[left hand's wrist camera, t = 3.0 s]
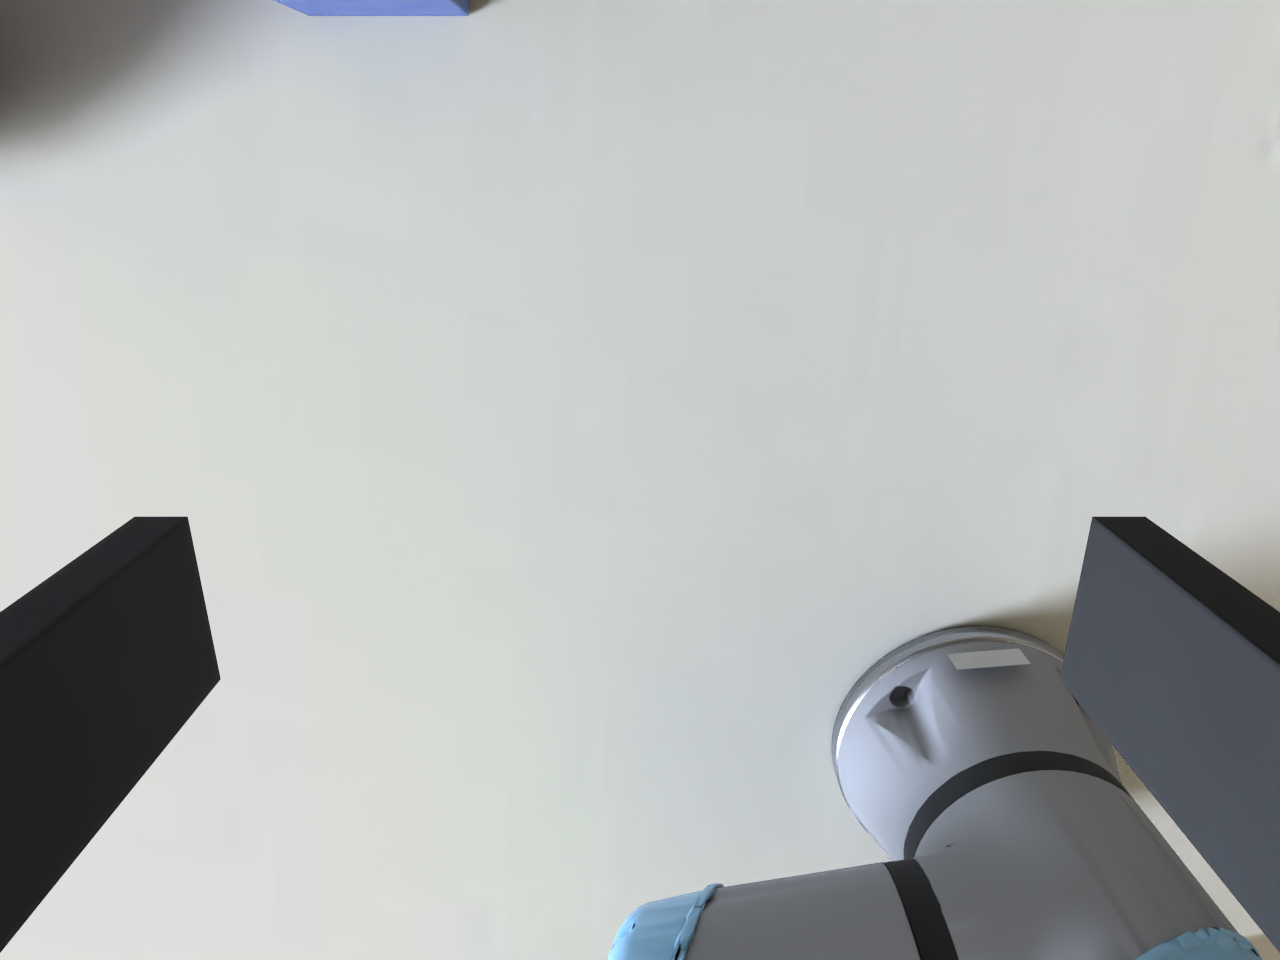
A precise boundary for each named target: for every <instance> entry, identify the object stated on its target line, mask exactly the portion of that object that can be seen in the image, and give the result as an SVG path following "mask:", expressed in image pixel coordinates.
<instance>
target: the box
mask: <svg viewBox="0 0 1280 960" xmlns="http://www.w3.org/2000/svg"><path fill="white" fill-rule="evenodd" d="M274 1H276V2H279V3H281V4H283V5H286V6H288V7H290V8H293V9H295V10H297V11H300V12H302V13H304V14H307V15H309V16H468V15H469V0H274Z"/></svg>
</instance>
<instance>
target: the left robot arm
mask: <svg viewBox="0 0 1280 960" xmlns="http://www.w3.org/2000/svg"><path fill="white" fill-rule="evenodd" d="M219 680H220V674H219V669H218V664H217V660H216V655H215V650H214V645H213V640H212V635H211V630H210V625H209V620H208V615H207V610H206V605H205V600H204V596H203V591H202V586H201V581H200V576H199V571H198V566H197V561H196V556H195V551H194V546H193V541H192V536H191V532H190V527H189V522H188V517H134V518H132V519H131V520H130V521H128V522H127V523H125V524H124V525H123V526H121V527H120V528H118V529H117V530H116V531H114V532H113V533H111V534H110V535H108V536H107V537H106V538H104V539H103V540H101V541H100V542H99V543H97V544H96V545H94V546H93V547H92V548H90V549H89V550H87V551H86V552H85V553H83V554H82V555H80V556H79V557H77V558H76V559H75V560H73V561H72V562H70V563H69V564H68V565H66V566H65V567H63V568H62V569H61V570H59V571H58V572H56V573H55V574H54V575H52V576H51V577H49V578H48V579H47V580H45V581H44V582H42V583H41V584H39V585H38V586H37V587H35V588H34V589H32V590H31V591H30V592H28V593H27V594H25V595H24V596H23V597H21V598H20V599H18V600H17V601H16V602H14V603H13V604H11V605H10V606H9V607H7V608H6V609H4V610H3V611H1V612H0V952H1V951H2V950H3V949H4V947H5V946H6V945H7V944H8V942H9V941H10V940H11V939H12V937H13V936H14V935H15V934H16V932H17V931H18V930H19V929H20V927H21V926H22V925H23V924H24V923H25V921H26V920H27V919H28V918H29V916H30V915H31V914H32V913H33V911H34V910H35V909H36V908H37V906H38V905H39V904H40V903H41V901H42V900H43V899H44V898H45V896H46V895H47V894H48V893H49V891H50V890H51V889H52V888H53V886H54V885H55V884H56V883H57V882H58V880H59V879H60V878H61V877H62V875H63V874H64V873H65V872H66V870H67V869H68V868H69V867H70V865H71V864H72V863H73V862H74V860H75V859H76V858H77V857H78V855H79V854H80V853H81V852H82V850H83V849H84V848H85V847H86V846H87V844H88V843H89V842H90V841H91V839H92V838H93V837H94V836H95V834H96V833H97V832H98V831H99V829H100V828H101V827H102V826H103V824H104V823H105V822H106V821H107V819H108V818H109V817H110V816H111V814H112V813H113V812H114V811H115V809H116V808H117V807H118V806H119V805H120V803H121V802H122V801H123V800H124V798H125V797H126V796H127V795H128V793H129V792H130V791H131V790H132V788H133V787H134V786H135V785H136V783H137V782H138V781H139V780H140V778H141V777H142V776H143V775H144V773H145V772H146V771H147V770H148V768H149V767H150V766H151V765H152V764H153V762H154V761H155V760H156V759H157V757H158V756H159V755H160V754H161V752H162V751H163V750H164V749H165V747H166V746H167V745H168V744H169V742H170V741H171V740H172V739H173V737H174V736H175V735H176V734H177V732H178V731H179V730H180V729H181V727H182V726H183V725H184V724H185V723H186V721H187V720H188V719H189V718H190V716H191V715H192V714H193V713H194V711H195V710H196V709H197V708H198V706H199V705H200V704H201V703H202V701H203V700H204V699H205V698H206V696H207V695H208V694H209V693H210V691H211V690H212V689H213V688H214V687H215V685H216V684H217V683H218V682H219ZM1111 744H1112V745H1113V746H1114V747H1115V749H1116V750H1117V751H1118V752H1119V754H1120V755H1121V756H1122V757H1123V759H1124V760H1125V761H1126V762H1127V764H1128V765H1129V766H1130V767H1131V768H1132V770H1133V771H1134V772H1135V773H1136V775H1137V776H1138V777H1139V778H1140V780H1141V781H1142V782H1143V783H1144V785H1145V786H1146V787H1147V788H1148V790H1149V791H1150V792H1151V793H1152V795H1153V796H1154V797H1155V798H1156V800H1157V801H1158V802H1159V803H1160V805H1161V806H1162V807H1163V808H1164V809H1165V811H1166V812H1167V813H1168V814H1169V816H1170V817H1171V818H1172V819H1173V821H1174V822H1175V823H1176V824H1177V826H1178V827H1179V828H1180V829H1181V831H1182V832H1183V833H1184V834H1185V836H1186V837H1187V838H1188V839H1189V841H1190V842H1191V843H1192V844H1193V846H1194V847H1195V848H1196V849H1197V850H1198V852H1199V853H1200V854H1201V855H1202V857H1203V858H1204V859H1205V860H1206V862H1207V863H1208V864H1209V865H1210V867H1211V868H1212V869H1213V870H1214V872H1215V873H1216V874H1217V875H1218V877H1219V878H1220V879H1221V880H1222V882H1223V883H1224V884H1225V885H1226V886H1227V888H1228V889H1229V890H1230V891H1231V893H1232V894H1233V895H1234V896H1235V898H1236V899H1237V900H1238V901H1239V903H1240V904H1241V905H1242V906H1243V908H1244V909H1245V910H1246V911H1247V913H1248V914H1249V915H1250V916H1251V918H1252V919H1253V920H1254V921H1255V923H1256V924H1257V925H1258V926H1259V927H1260V929H1261V930H1262V931H1263V932H1264V934H1265V935H1266V936H1267V937H1268V939H1269V940H1270V941H1271V942H1272V944H1273V945H1274V946H1275V947H1276V949H1277V950H1278V951H1279V952H1280V612H1279V611H1277V610H1276V609H1274V608H1273V607H1271V606H1270V605H1269V604H1267V603H1266V602H1264V601H1263V600H1262V599H1260V598H1259V597H1257V596H1256V595H1255V594H1253V593H1252V592H1250V591H1249V590H1248V589H1246V588H1245V587H1243V586H1242V585H1241V584H1239V583H1238V582H1236V581H1235V580H1233V579H1232V578H1231V577H1229V576H1228V575H1226V574H1225V573H1224V572H1222V571H1221V570H1219V569H1218V568H1217V567H1215V566H1214V565H1212V564H1211V563H1210V562H1208V561H1207V560H1205V559H1204V558H1203V557H1201V556H1200V555H1198V554H1197V553H1195V552H1194V551H1193V550H1191V549H1190V548H1188V547H1187V546H1186V545H1184V544H1183V543H1181V542H1180V541H1179V540H1177V539H1176V538H1174V537H1173V536H1172V535H1170V534H1169V533H1167V532H1166V531H1164V530H1163V529H1162V528H1160V527H1159V526H1157V525H1156V524H1155V523H1153V522H1152V521H1150V520H1149V519H1148V518H1146V517H1092V522H1091V527H1090V532H1089V536H1088V541H1087V546H1086V551H1085V556H1084V561H1083V566H1082V571H1081V576H1080V581H1079V586H1078V591H1077V596H1076V600H1075V605H1074V610H1073V615H1072V620H1071V625H1070V630H1069V635H1068V640H1067V645H1066V650H1065V655H1064V657H1063V656H1062V655H1061V654H1060V653H1059V652H1057V651H1056V650H1055V649H1053V648H1052V647H1051V646H1049V645H1047V644H1046V643H1044V642H1042V641H1040V640H1038V639H1036V638H1034V637H1032V636H1029V635H1027V634H1024V633H1020V632H1017V631H1013V630H1009V629H1005V628H997V627H985V626H972V627H959V628H952V629H947V630H942V631H938V632H934V633H931V634H928V635H925V636H922V637H919V638H917V639H914V640H912V641H910V642H908V643H906V644H904V645H902V646H900V647H898V648H896V649H895V650H893V651H891V652H890V653H888V654H887V655H885V656H884V657H883V658H881V659H880V660H878V661H877V662H876V663H875V664H874V665H873V666H871V667H870V668H869V669H868V670H867V671H866V672H865V673H864V674H863V675H862V676H861V677H860V678H859V680H858V681H857V682H856V683H855V685H854V686H853V687H852V689H851V690H850V692H849V693H848V695H847V696H846V698H845V700H844V702H843V704H842V705H841V707H840V710H839V712H838V715H837V718H836V721H835V725H834V729H833V735H832V760H833V765H834V769H835V772H836V776H837V779H838V782H839V785H840V788H841V791H842V794H843V796H844V798H845V801H846V803H847V805H848V806H849V808H850V809H851V811H852V812H853V814H854V816H855V817H856V819H857V820H858V821H859V823H860V824H861V825H862V826H863V828H864V829H865V830H866V831H867V832H868V833H869V834H871V836H872V837H873V838H874V839H875V840H876V842H877V843H878V844H879V845H880V846H881V848H882V849H883V850H884V851H885V852H886V853H887V855H888V856H889V857H890V858H891V859H892V860H893V861H892V862H885V863H884V862H883V863H875V864H869V865H863V866H856V867H850V868H844V869H837V870H831V871H824V872H818V873H812V874H805V875H799V876H793V877H786V878H780V879H773V880H767V881H761V882H754V883H748V884H742V885H735V886H728V887H724V886H723V884H712V885H709V886H707V887H706V888H705V889H704V890H703V891H698V892H694V893H689V894H685V895H680V896H676V897H671V898H667V899H662V900H658V901H653V902H649V903H647V904H644V905H642V906H640V907H639V908H637V909H636V910H635V911H633V912H632V913H631V914H630V915H629V916H628V917H627V918H626V920H625V921H624V923H623V924H622V926H621V927H620V929H619V931H618V933H617V935H616V937H615V940H614V943H613V946H612V950H611V951H610V954H609V957H608V960H1262V958H1261V957H1260V955H1259V954H1258V951H1257V950H1256V949H1255V948H1254V946H1253V945H1252V944H1251V942H1250V941H1249V940H1248V939H1247V938H1245V937H1243V936H1242V935H1240V934H1239V933H1238V932H1237V931H1236V929H1235V928H1234V927H1233V926H1232V924H1231V923H1230V922H1229V920H1228V919H1227V918H1226V917H1225V915H1224V914H1223V913H1222V912H1221V910H1220V909H1219V908H1218V906H1217V905H1216V904H1215V903H1214V901H1213V900H1212V899H1211V897H1210V896H1209V895H1208V894H1207V892H1206V891H1205V890H1204V889H1203V887H1202V886H1201V885H1200V883H1199V882H1198V881H1197V880H1196V878H1195V877H1194V876H1193V874H1192V873H1191V872H1190V871H1189V869H1188V868H1187V867H1186V866H1185V864H1184V863H1183V862H1182V860H1181V859H1180V858H1179V857H1178V855H1177V854H1176V853H1175V851H1174V850H1173V849H1172V848H1171V846H1170V845H1169V844H1168V843H1167V841H1166V840H1165V839H1164V837H1163V836H1162V835H1161V834H1160V832H1159V831H1158V830H1157V828H1156V827H1155V826H1154V825H1153V823H1152V822H1151V821H1150V820H1149V818H1148V817H1147V816H1146V814H1145V813H1144V812H1143V811H1142V809H1141V808H1140V807H1139V806H1138V804H1137V803H1136V802H1135V801H1134V800H1133V798H1132V797H1131V796H1130V794H1129V793H1128V792H1127V790H1126V789H1125V788H1124V786H1123V785H1122V783H1121V779H1120V776H1119V772H1118V768H1117V765H1116V761H1115V757H1114V753H1113V750H1112V746H1111Z"/></svg>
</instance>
